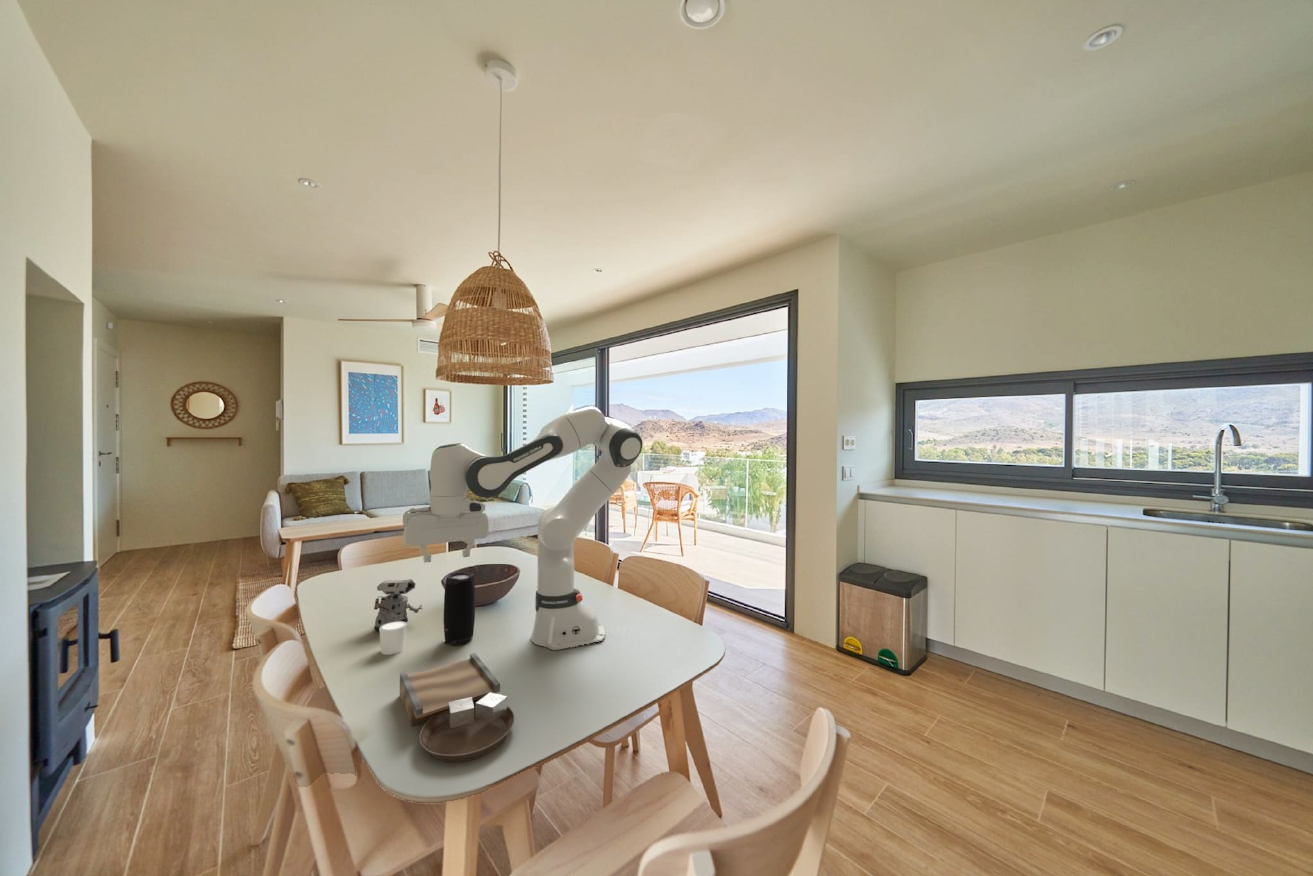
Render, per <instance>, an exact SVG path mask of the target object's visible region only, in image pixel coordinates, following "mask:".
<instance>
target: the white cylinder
mask: <svg viewBox="0 0 1313 876" xmlns="http://www.w3.org/2000/svg"><path fill="white" fill-rule="evenodd" d="M407 626H408V623H407V622H403V621H396V622H390V623H386V624H384V625H382V626H380V628H379V631H378V632H379V641H380V652H381V654H382V655H386V656H387V655H388V656H390V655H396V654H399V653H400V652H402V651H404V649H405V644H406V637H407V636H406V635H407V628H408V627H407Z"/></svg>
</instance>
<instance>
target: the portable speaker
mask: <svg viewBox="0 0 1313 876" xmlns="http://www.w3.org/2000/svg"><path fill="white" fill-rule="evenodd" d="M475 585H476V584H475V574H474V573H468V572H464V571H455V572H453V573H450V574H449V575H448V576H447V577H446V579H445V587H444V596H443V597H444V599H443V600H444V601H443V634H444V635H443V636H444V643H450V644H451V646H459V647H460V646H463V645H466V644H467V643H468V642H469V640H470V639H472V638H473V637H474V631H475V621H476V620H475V619H476V587H475Z"/></svg>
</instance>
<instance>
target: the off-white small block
mask: <svg viewBox="0 0 1313 876" xmlns="http://www.w3.org/2000/svg"><path fill="white" fill-rule="evenodd" d="M449 723H450V728H454V727H458V726H462V725H466V724H470V723H474V705H473V701H472V697H469V698H465V699H460V700H456V701H452V702H449Z"/></svg>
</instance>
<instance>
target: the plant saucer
mask: <svg viewBox="0 0 1313 876" xmlns="http://www.w3.org/2000/svg"><path fill="white" fill-rule="evenodd" d="M472 701H473V705H474V723H470V724H466V725H462V726H458V727H454V728H450V723H449V708H448V709H445V710H442V711H440V712H438V713H437V714H435V715H434V716H433V717H431V718H430V719H429V720H427V721H425V723H424V725H423V726H422V728H421V730H420V733H419V739H418V740H419V743H420V745H421V746H422V748H423V749H424V750H425V751H426V752H427V753H428V754H429V755H430V756H432V757H433V758H435V759H437V760H439V761H442V762H447V763H448V762H449V763H459V762H460V763H461V762H466V761H471V760H475V759H477V758H479V757H482V756H484V755H486V754H488V753H489V752H491V751H493V750H494V749H495V748H497V747H498V746H499V745H500V744H501V743H502V742H503V741H504V739H505V738H506V737H507V735H509V733H510V731H511V729H512V728H513V726H514V724H515V723H514V722H515V714H514V711H513V710H512V708H511V707H510V706H509V705H507V711H506V712H504V713H503V714H502V715H501V716H500V717H498V718H497V719H496V720H495V721H494V722H490V721H486V720H482V719H479V718H475V714H476V702H478V701H479V700H472Z"/></svg>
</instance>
